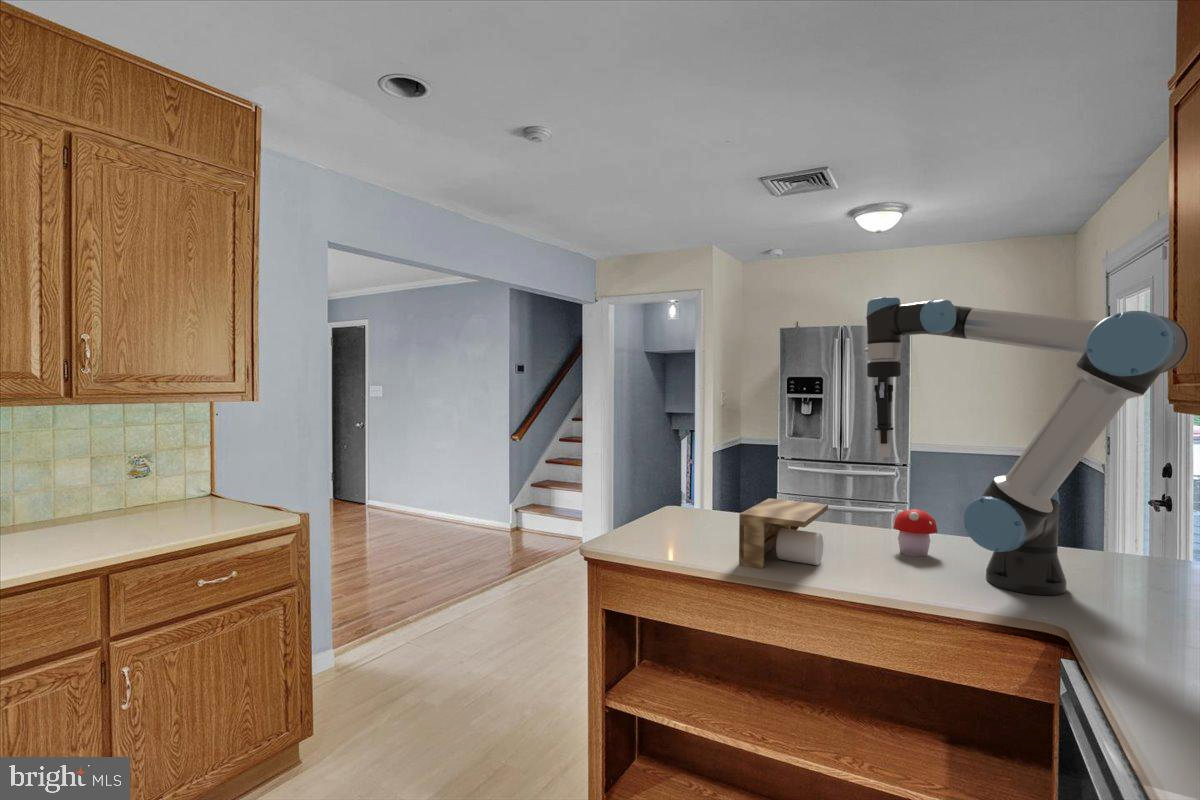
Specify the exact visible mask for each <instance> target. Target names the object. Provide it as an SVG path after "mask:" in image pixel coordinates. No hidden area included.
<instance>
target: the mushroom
mask: <svg viewBox="0 0 1200 800" xmlns="http://www.w3.org/2000/svg"><path fill="white" fill-rule="evenodd" d="M936 523H937V521H936V519H935V518H933V517H932V516H931V515H930V514H929V513H928V512H926V511H925V510H922V509H921V510H920V509H917V508H911V509H907V510H903V509H899V510H897V511H896V517H895V518H894V524H893V529H895V530H898V531H899V533H898V537H897V541H898V545H899V547H898V548H899V551H900V553H901V554H903V555H905V556H912V557H927V556H928V555H929V549H930V544H931V538H930V535H932V534H938V527H937V524H936ZM926 555H927V556H926Z"/></svg>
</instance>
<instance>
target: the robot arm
mask: <svg viewBox="0 0 1200 800" xmlns="http://www.w3.org/2000/svg"><path fill="white" fill-rule="evenodd" d="M866 306H867V307H866V316H865V318H866V334H867V335H866V336H867V337H866V338H867V341H866V342H867V343H866V344H867V346H866V348H864V352H865V353H867V354H866V357H867V358H866V359H867V360H868V361H870V362H867V364H866V374H867V377H868V378H877V384H875V385H874V393H875V402H876V422H877V423H876V427H875V428H874V431H877V457H878V458H891V453H892V452H891V448H892V447H891V446H892V445H891V440H892V439H891V438H892V437H891V433H892V432H891V431H893V430H894V429H895V428H894V427H892V402H893V392H894V384H891V379H890V378H898V377H899V378H900V377H901V373H902V372H901V368H902V366H901V362H900V361H899V360H900V359H901V357H902V356H901V355H902V352H901V351H902V343H901V337H902V336H912V335H913V336H917V335H931V336H941V337H942V336H944V337H950V338H958V339H962V340H963V339H964V340H973V341H981V342H985V343H986V342H988V343H993V344H1000V345H1006V346H1007V345H1008V346H1014V347H1021V348H1027V349H1035V350H1042V351H1048V352H1055V353H1062V354H1068V355H1076V356H1080V357H1079V359H1078V361H1077V362H1076V364H1075V365H1074V367H1075V370H1076V374H1077V378H1076V379H1075V380H1074V382H1073V383H1072V384H1071V386H1070V387H1069V389H1068V390H1067V391H1066V393H1065V394H1064V395H1063V397H1062V398H1061V400H1060V401H1059V402H1058V404H1057V405H1056V406H1055V408H1054V409H1053V411H1052V412H1051V414H1049V416H1048V418H1047V419H1046V421H1045V422H1044V423H1043V425H1042V426H1041V427H1040V429H1039V430H1038V432H1037V433H1036V434H1035V436H1034V437H1033V438H1032V439H1031V441H1030V442H1029V444H1027V447H1026V448H1025V449H1024V451H1023V452H1022V453H1021V455H1020V456H1019V457H1018V459H1017V460H1016V462H1015V463H1014V465H1013V466H1012V467H1011V469H1010V470H1009V471H1008V473H1007V474H1004V475H998V476H995V477H994V478H993V480H992V481H991V482H990V484H989V485H988V486H987V487H986V489H985V491H984V492H983V493H982V495H981V496H978V497H976V498H974V499H972V501H970V502H969V503H968V504H967V505H966V507H965V509H964V511H963V518H962V519H963V525H964V528H965V531H966V533H967V534H968V536H969V537H970V539H971V540H972V541H973V542H974V543H976V545H977V546H979V547H981V548H983V549H986V550H987V551H990V552H992V555H991V557H990V560H989V561H988V564H987V567H986V569H985V580H986V581H987V582H989V583H990V584H992V585H994V586H996V587H998V588H1002V589H1005V590H1008V591H1012V592H1016V593H1023V594H1027V595H1028V594H1029V595H1037V596H1038V595H1039V596H1060V595H1063V594H1065V593H1066V592H1067V577H1066V576H1065V573H1064V570H1063V567H1062V565H1061V562H1060V559H1059V554H1058V547H1059V546H1058V544H1059V542H1058V541H1059V517H1060V516H1059V515H1060V514H1059V513H1060V505H1061V502H1060V496H1059V495H1060V494H1059V491H1058V489H1059V488H1060V487H1061V486H1062V484H1063V483H1064V481H1065V480H1066V479H1067V478H1068V477H1069V475H1070V474H1071V473H1072V471H1073V470H1074V468H1076V466H1078V465H1077V464H1079V462H1080V461H1081V460H1082V458H1084V456H1085V455H1086V453H1087V452H1088V451H1089V449H1090V448H1091V446H1093V445H1094V443H1095V442H1096V441H1097V439H1098V438H1099V437H1100V435H1101V434H1102V433H1103V431H1104V430H1105V429H1106V427H1108V425H1109V424H1110V422H1111V421H1112V420H1113V419H1114V417H1115V416H1116V415H1117V413H1118V412H1119V411H1120V410H1121V408H1122V407H1123V406H1124V405H1125V403H1126V401H1128V400H1130V399H1134V398H1138V397H1142V396H1144V395H1145V393H1146V392H1147V391H1148V390H1149V388H1151V386H1152V385H1153V384H1154V382H1155V381H1156V380H1157V378H1158V377H1159V376H1160V375H1161V374H1163V373H1166V372H1169V371H1171V370H1173V369H1175V368H1177V366H1178V365H1180V364H1181V363H1182V362H1183V360H1184V359H1186V357H1187V355H1188V352H1189V347H1190V341H1189V336H1188V333H1187V330H1185V329H1184V327H1183V326H1182V325H1181V324H1180V323H1178V322H1177V321H1175V320H1174V319H1171V318H1168V317H1166V316H1163V315H1158V314H1156V313H1152V312H1148V311H1146V310H1128V311H1123V312H1117V313H1115V314H1112V315H1110V316H1107V317H1105V318H1104V319H1102V320H1093V319H1087V318H1085V319H1084V318H1075V317H1066V316H1065V317H1064V316H1059V315H1058V316H1057V315H1046V314H1038V313H1029V312H1027V313H1026V312H1018V311H1017V312H1016V311H1008V310H997V309H989V308H988V309H987V308H981V307H979V308H978V307H970V306H961V305H955V304H954V303H952V301H951V300H949V299H931V300H927V301H920V302H919V301H918V302H912V303H901V299H900V298H899V297H896V296H884V297H876V298H871V299H869V300H868V302H867V305H866Z"/></svg>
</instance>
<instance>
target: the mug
mask: <svg viewBox="0 0 1200 800" xmlns="http://www.w3.org/2000/svg"><path fill="white" fill-rule="evenodd" d="M775 553H776V554H775V555H776V557H777V559H778V560H782V561H789V562H795V563H801V564H807V565H811V566H812V565H813V566H819V565H820V564H821V562H822V559H823V555H824V538H823V534H822V533H821V532H814V531H808V530H800V529H797V530H792V529H785V528H781V529H780V530H779V532H778V535H777V540H776V547H775Z"/></svg>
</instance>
